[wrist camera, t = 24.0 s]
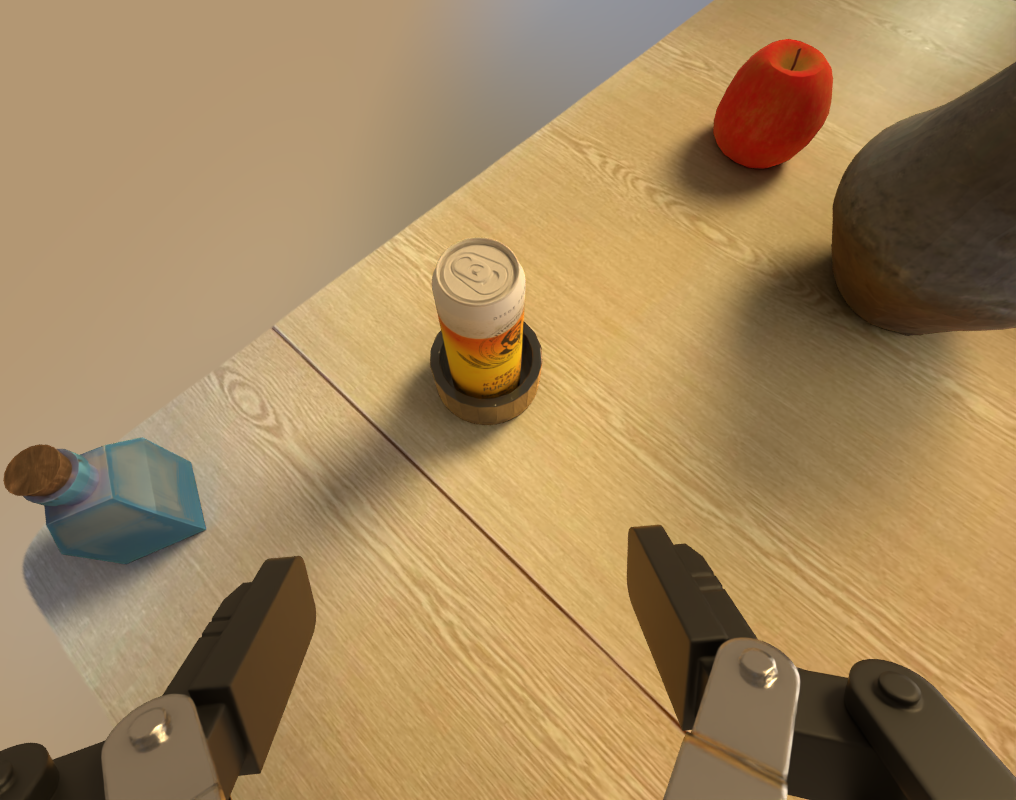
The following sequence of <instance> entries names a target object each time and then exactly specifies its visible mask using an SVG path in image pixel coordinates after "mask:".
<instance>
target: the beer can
mask: <svg viewBox="0 0 1016 800" xmlns="http://www.w3.org/2000/svg"><path fill="white" fill-rule="evenodd" d="M525 283H526V280H525V274H524V271H523V268H522V266H521V265H520V263H519V262H518V260H517V258H516V256H515V254H514V253H513V252H512V250H511V249H510V248H508V247H507V246H506V245H504V244H503V243H501V242H499V241H496V240H493V239H490V238H483V237H475V238H468V239H464V240H461V241H458V242H456V243H454V244H453V245H451V246H450V247H449V248H447V249H446V250H445V251H444V252H443V254H442V255H441V256H440V258H439V260H438V263H437V266H436V269H435V271H434V273H433V277H432V290H433V295H434V299H435V304H436V308H437V313H438V317H439V322H440V326H441V331H442V335H443V340H444V345H445V349H446V354H447V358H448V363H449V367H450V372H451V376H452V381H453V384H454V386H455V388H456V390H458V391H460V392H461V393H463V394H464V395H468V396H471V397H475V398H479V399H485V398H497V397H500V396H503V395H506V394H509V393H510V392H512V391H513V390H515V389H516V388H517V386H518V384H519V381H520V372H521V354H522V337H523V319H524V301H525Z"/></svg>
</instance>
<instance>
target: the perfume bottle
mask: <svg viewBox="0 0 1016 800" xmlns="http://www.w3.org/2000/svg"><path fill="white" fill-rule="evenodd" d="M3 481H4V485H5V488H6V489H7V490H8V491H9V492H10V493H12V494H14V495H17V496H23V497H24V498H25V499H26V500H28V501H31V502H33V503H37V504H41V505H44V506H45V516H46V525H47V527H48V529H49V531H50V533H51V535H52V537H53V539H54V541H55V543H56V545H57V547H58V548H59V550H60V552H61V554H64V555H70V556H76V557H83V558H89V559H96V560H102V561H108V562H115V563H121V564H128V563H130V562H132V561H135V560H137V559H139V558H142V557H144V556H146V555H149V554H151V553H153V552H155V551H158V550H160V549H162V548H165V547H167V546H169V545H172V544H174V543H176V542H179V541H181V540H183V539H186V538H188V537H190V536H193V535H195V534H197V533H199V532H202V531H204V530H206V527H205V522H204V518H203V513H202V509H201V504H200V500H199V495H198V491H197V487H196V482H195V478H194V473H193V469H192V464H191V462H189V461H188V460H186V459H184V458H182V457H180V456H178V455H176V454H174V453H172V452H170V451H168V450H166V449H164V448H162V447H160V446H158V445H156V444H154V443H152V442H150V441H149V440H147V439H145V438H143V437H142V438H137V439H133V440H128V441H123V442H118V443H113V444H109V445H104V446H101V447H99V448H96V449H94V450H91V451H88V452H86V453H83V454H81V455H78V454H76V453H73V452H71V451H68V450H66V449H55V448H54V447H51V446H49V445H35V446H31V447H29V448H27V449H25V450H23V451H21V452H20V453H19V454H18V455H16V456H15V457H14V458H13V459H12V460H11V462H10V463H9V464H8V466H7V468H6V471H5V473H4V480H3Z"/></svg>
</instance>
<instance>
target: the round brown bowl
mask: <svg viewBox="0 0 1016 800" xmlns="http://www.w3.org/2000/svg"><path fill="white" fill-rule="evenodd" d="M430 367H431V370H432V374H433V377H434V381H435V384H436V387H437V390H438V393H439V396H440V398H441V400H442V401H443V403H444V404H445V406H446V407H447V408H448V409H449V410H450V411H451V412H452V413H453V414H455V415H456V416H457V417H459V418H461V419H463V420H465V421H468V422H471V423H474V424H480V425H493V424H499V423H504V422H506V421H509V420H511V419H513V418H515V417H517V416H518V415H520V414H521V413H522V412H523V411H524V410H526V409H527V407H528V406H529V405H530V404H531V402H532V401H533V399H534V397H535V395H536V393H537V389H538V385H539V382H540V375H541V368H542V351H541V345H540V343H539V341H538V339H537V336H536V334H535V332H534V331H533V330H532V329H531V328H530V327H529V326H528V325H527V324H526V323H525V322H524V321H523V337H522V354H521V372H520V381H519V384H518V386H517V388H516V389H515V390H513V391H512V392H510V393H509V394H506V395H503V396H500V397H497V398H485V399H479V398H475V397H471V396H468V395H464V394H463V393H461V392H460V391H458V390H456V388H455V386H454V384H453V381H452V376H451V372H450V367H449V363H448V358H447V354H446V349H445V345H444V340H443V335H442V331H440V332H439V333H438V334H437V336H436V338H435V340H434V343H433V345H432V348H431V354H430Z"/></svg>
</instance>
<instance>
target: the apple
mask: <svg viewBox="0 0 1016 800" xmlns="http://www.w3.org/2000/svg"><path fill="white" fill-rule="evenodd" d="M832 85H833V76H832V69H831V67H830V65H829V63H828V62H827V60H826V58H825V57H824V55H823V54H822V53H821V52H820V51H819V50H817V49H815V48H814V47H812V46H810V45H808V44H805V43H803V42H801V41H797V40H791V39H786V40H779V41H776V42H772V43H771V44H769V45H767V46H765V47H764V48H762V49H760V50H759V51H758V52H756V53H755V54H754V55H753V56H751V57H750V59H749V60H748V61H747V62H746V63H745V64H744V65H743V66H742V67H741V68H740V69H739V70H738V72H737V74H736V75H735V77H734V78H733V80H732V82H731V83H730V85H729V86H728V88H727V90H726V92H725V94H724V96H723V98H722V100H721V102H720V104H719V106H718V108H717V110H716V114H715V118H714V129H713V133H714V136H715V139H716V142H717V145H718V146H719V148H720V149H721V151H722V152H723V154H725V155H726V156H727V157H729V158H730V159H731V160H733V161H734V162H736V163H738V164H741V165H743V166H745V167H748V168H764V169H765V168H769V167H772V166H775V165H778V164H781V163H783V162H786V161H788V160H790V159H791V158H792V157H793V156H794V155H796V154H797V153H798V152H799V151H801V150H802V149H803V148H804V147H805V146H807V145H808V144H809V142H810V141H811V140H812V139H813V137H814V136H815V135H816V134H817V132H818V131H819V130H820V129H821V127H822V126H823V124H824V122H825V120H826V118H827V116H828V114H829V110H830V105H831V98H832Z"/></svg>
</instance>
